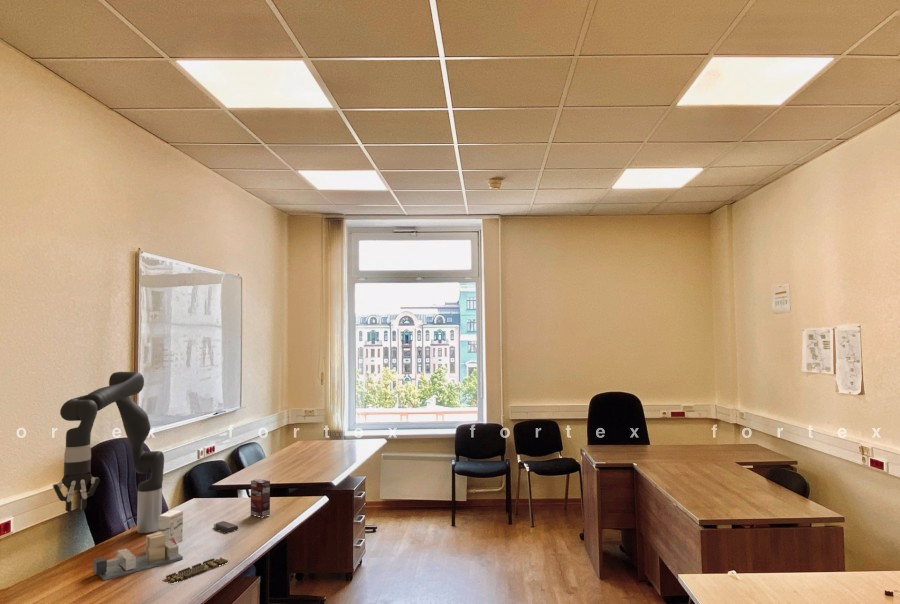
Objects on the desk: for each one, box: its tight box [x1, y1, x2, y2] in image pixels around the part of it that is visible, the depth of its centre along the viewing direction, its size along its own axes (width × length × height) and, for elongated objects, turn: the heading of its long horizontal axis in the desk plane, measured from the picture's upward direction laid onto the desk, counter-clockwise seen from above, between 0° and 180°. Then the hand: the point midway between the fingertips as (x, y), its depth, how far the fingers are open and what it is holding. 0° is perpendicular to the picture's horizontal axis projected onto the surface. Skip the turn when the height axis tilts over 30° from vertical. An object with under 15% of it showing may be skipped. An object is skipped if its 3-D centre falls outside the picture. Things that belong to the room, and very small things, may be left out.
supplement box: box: [250, 478, 271, 517], centre depth 253 cm, size 9×5×16 cm, turn 55°
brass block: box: [145, 532, 165, 561], centre depth 200 cm, size 5×5×8 cm
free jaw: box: [92, 548, 136, 576], centre depth 191 cm, size 12×11×4 cm
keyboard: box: [162, 557, 229, 584], centre depth 190 cm, size 22×9×2 cm, turn 147°
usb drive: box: [213, 520, 239, 534], centre depth 234 cm, size 5×12×3 cm, turn 52°
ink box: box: [158, 509, 184, 544], centre depth 218 cm, size 9×5×12 cm, turn 168°
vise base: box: [98, 539, 184, 581], centre depth 196 cm, size 12×25×5 cm, turn 134°
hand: (75, 511), depth 184 cm, fingers open, 3 cm apart
